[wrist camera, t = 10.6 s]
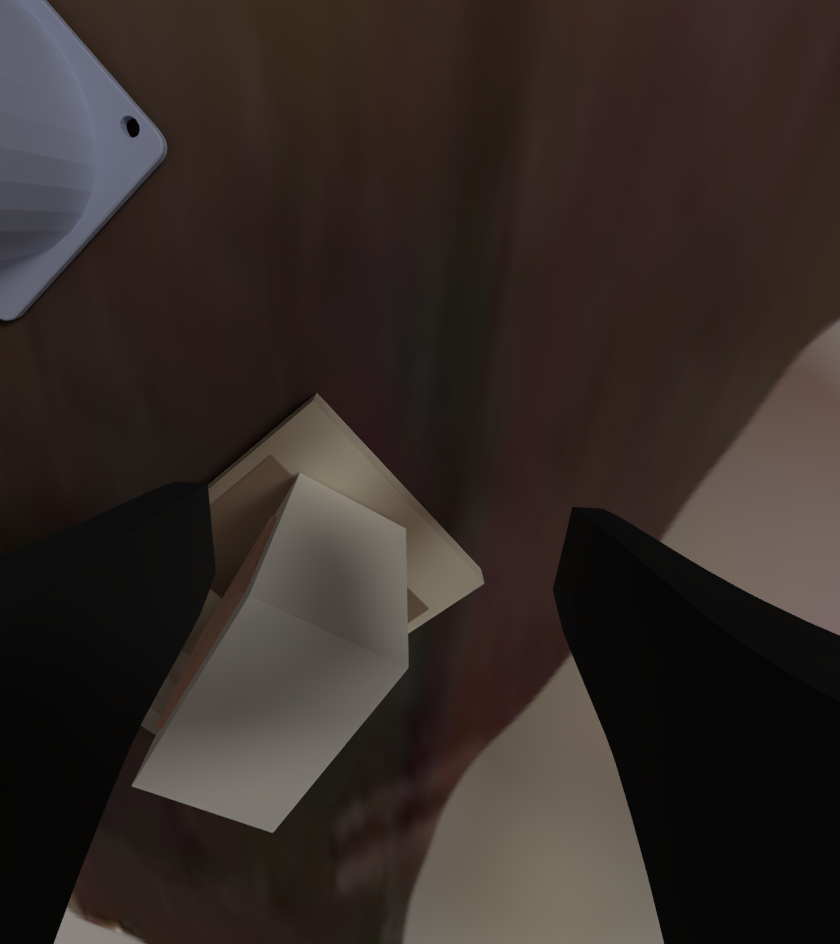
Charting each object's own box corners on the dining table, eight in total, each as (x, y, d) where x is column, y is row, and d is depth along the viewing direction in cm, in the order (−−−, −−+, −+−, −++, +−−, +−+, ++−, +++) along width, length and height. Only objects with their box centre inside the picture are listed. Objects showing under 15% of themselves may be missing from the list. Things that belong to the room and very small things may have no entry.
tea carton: (206, 620, 22) (124, 784, 15) (295, 469, 19) (241, 592, 12) (308, 664, 23) (272, 833, 16) (406, 528, 20) (408, 667, 14)
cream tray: (88, 585, 22) (27, 656, 18) (316, 392, 19) (296, 432, 15) (263, 713, 25) (240, 794, 22) (480, 569, 22) (496, 635, 19)
